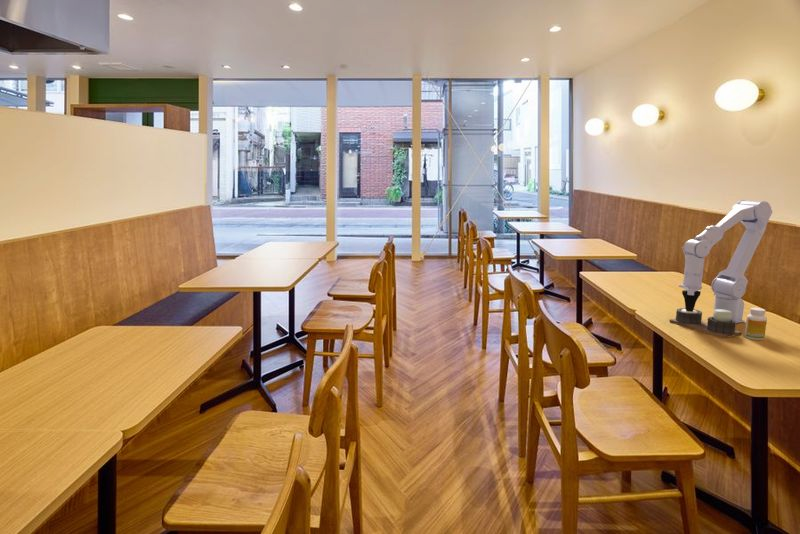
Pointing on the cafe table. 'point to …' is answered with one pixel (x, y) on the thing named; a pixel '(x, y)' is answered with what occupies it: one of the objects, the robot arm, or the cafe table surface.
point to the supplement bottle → (756, 324)
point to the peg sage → (722, 315)
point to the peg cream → (688, 311)
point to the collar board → (705, 324)
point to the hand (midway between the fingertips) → (689, 311)
